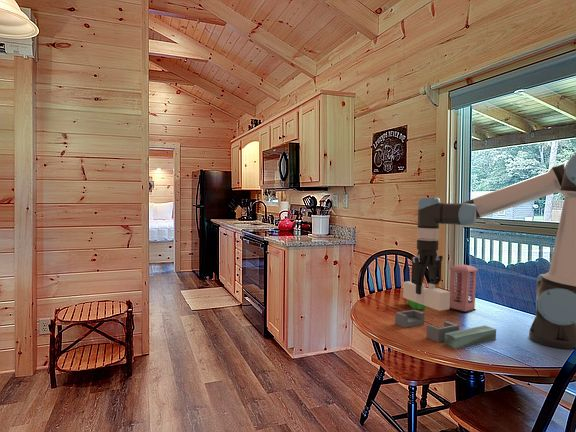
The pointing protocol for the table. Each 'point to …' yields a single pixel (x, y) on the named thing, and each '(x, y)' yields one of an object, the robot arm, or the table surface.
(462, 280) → the miniature model
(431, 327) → the cradle
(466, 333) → the grey-green long bar
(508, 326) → the table surface
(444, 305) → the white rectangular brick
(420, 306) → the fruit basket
